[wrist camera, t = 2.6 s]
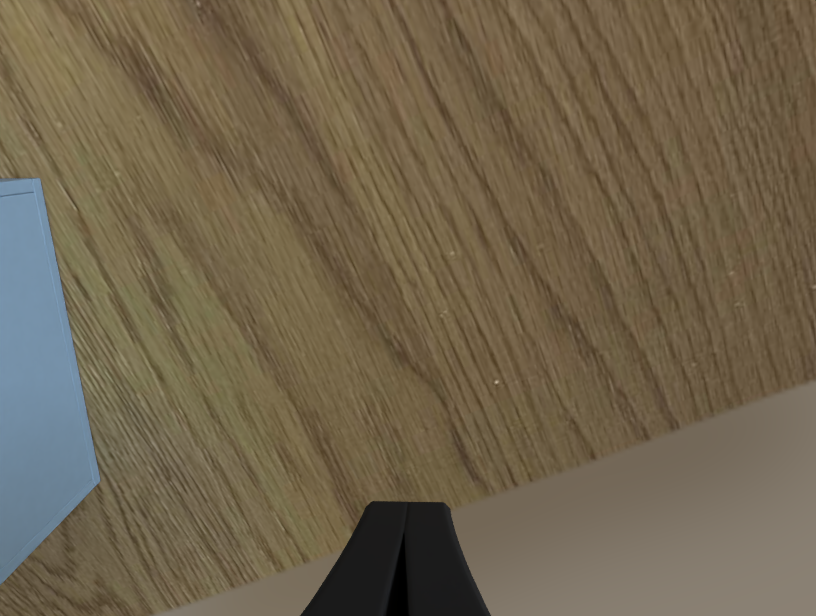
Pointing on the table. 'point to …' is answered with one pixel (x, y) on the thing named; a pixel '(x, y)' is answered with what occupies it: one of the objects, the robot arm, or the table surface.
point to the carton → (36, 383)
